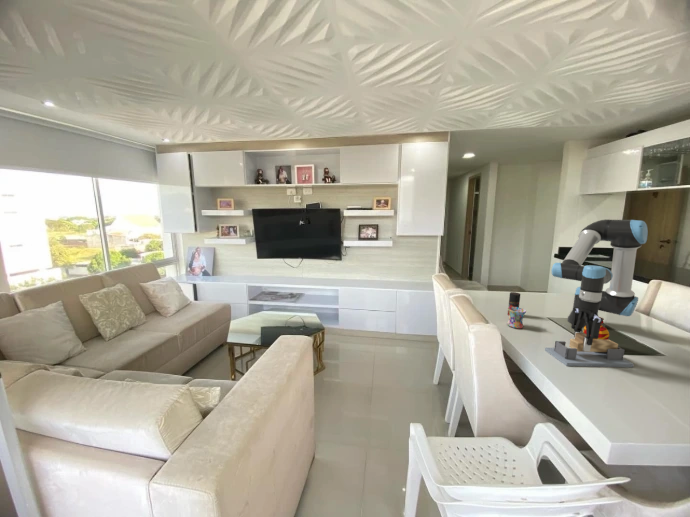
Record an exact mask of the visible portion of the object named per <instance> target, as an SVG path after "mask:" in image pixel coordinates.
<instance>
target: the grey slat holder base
mask: <svg viewBox="0 0 690 517" xmlns="http://www.w3.org/2000/svg"><path fill="white" fill-rule="evenodd" d="M554 342H555V343H554V347H544V351H545V352H546V353H548V354H549V355H551V356H552V357H553V358H554V359H556V360H557V361H559V363H561V364H563V365H564V366H566V367H597V368H598V367H599V368H600V367H601V368H602V367H603V368H604V367H605V368H608V367H609V368H634V363H632V362H631V361H629V360H627V359H625V358H624V355H625V349H624V348H622V347H620V346H618V348H617V349H608V350H607V352H580V351H577V349H576V348H570V347H567V346H566V344H567V342H566V341H564V340H563V341H562V340H555V341H554Z"/></svg>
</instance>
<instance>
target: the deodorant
mask: <svg viewBox="0 0 690 517" xmlns="http://www.w3.org/2000/svg"><path fill="white" fill-rule="evenodd" d="M508 298H509V299H508V307H518V308H520V300H521V293H519V292H515V291H513V292H512V291H510V292H509V297H508ZM508 307H507V308H508ZM507 316H509V311H508V310H507Z"/></svg>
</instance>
